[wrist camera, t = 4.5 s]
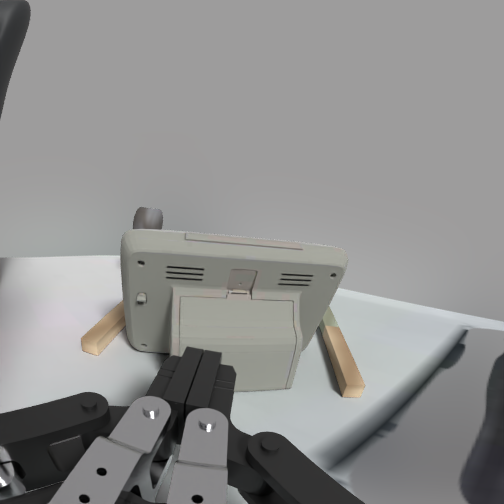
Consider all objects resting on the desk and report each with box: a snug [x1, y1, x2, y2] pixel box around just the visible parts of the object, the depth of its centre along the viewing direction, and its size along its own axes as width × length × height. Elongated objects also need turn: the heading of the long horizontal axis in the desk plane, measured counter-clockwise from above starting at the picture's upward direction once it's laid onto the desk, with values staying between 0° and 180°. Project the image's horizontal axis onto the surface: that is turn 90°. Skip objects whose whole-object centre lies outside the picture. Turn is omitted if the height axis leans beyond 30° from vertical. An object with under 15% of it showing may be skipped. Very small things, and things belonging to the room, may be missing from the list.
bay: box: [81, 207, 365, 397], centre depth 29 cm, size 24×20×10 cm
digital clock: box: [121, 229, 348, 392], centre depth 22 cm, size 16×9×11 cm, turn 92°
